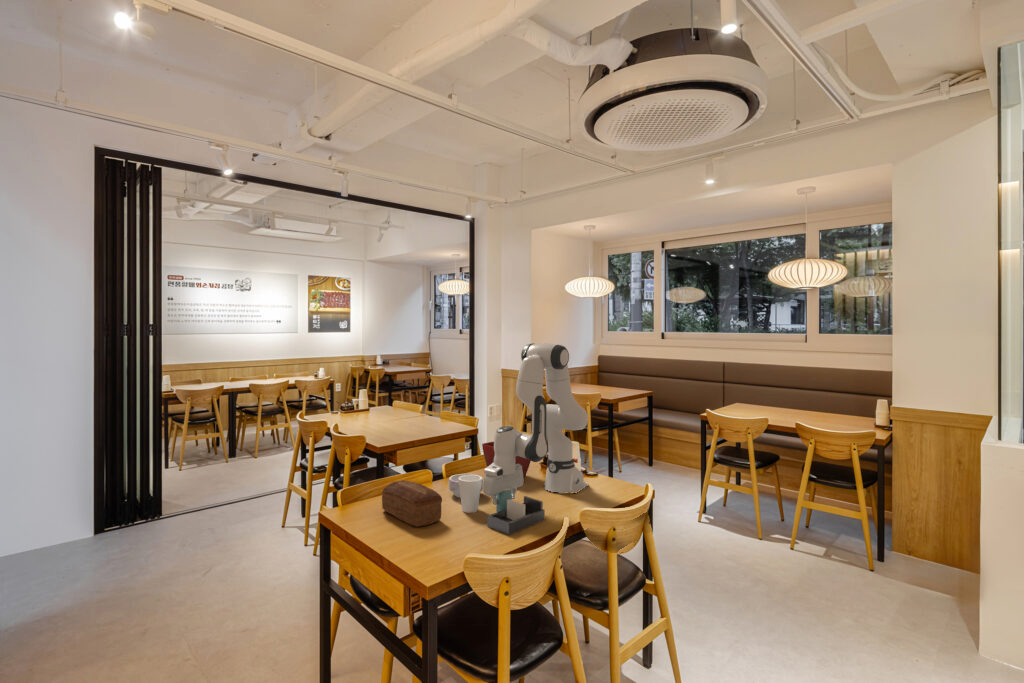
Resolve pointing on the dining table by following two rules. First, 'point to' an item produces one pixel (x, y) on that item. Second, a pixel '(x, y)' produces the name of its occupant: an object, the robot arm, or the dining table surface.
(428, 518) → the bread
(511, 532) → the grey open box
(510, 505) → the plate
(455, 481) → the pale lilac bowl
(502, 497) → the jar
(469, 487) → the foam cup
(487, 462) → the plant pot
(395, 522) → the dining table surface
